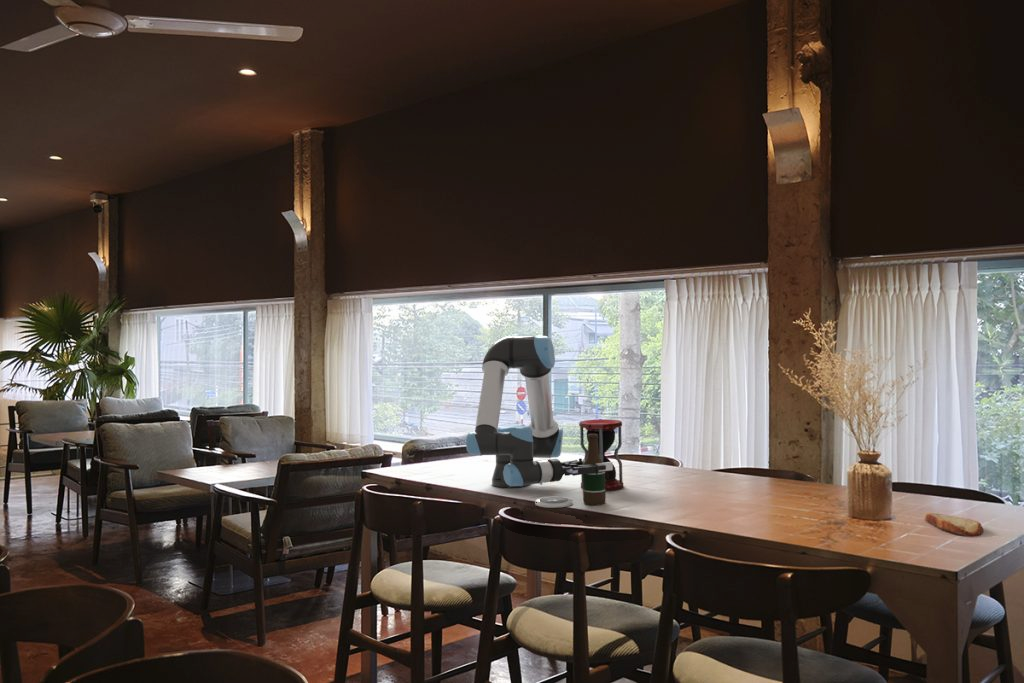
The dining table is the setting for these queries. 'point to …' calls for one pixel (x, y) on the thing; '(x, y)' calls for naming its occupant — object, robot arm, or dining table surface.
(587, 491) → the beer bottle
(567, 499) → the plate
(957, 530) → the bread slice
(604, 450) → the hourglass
